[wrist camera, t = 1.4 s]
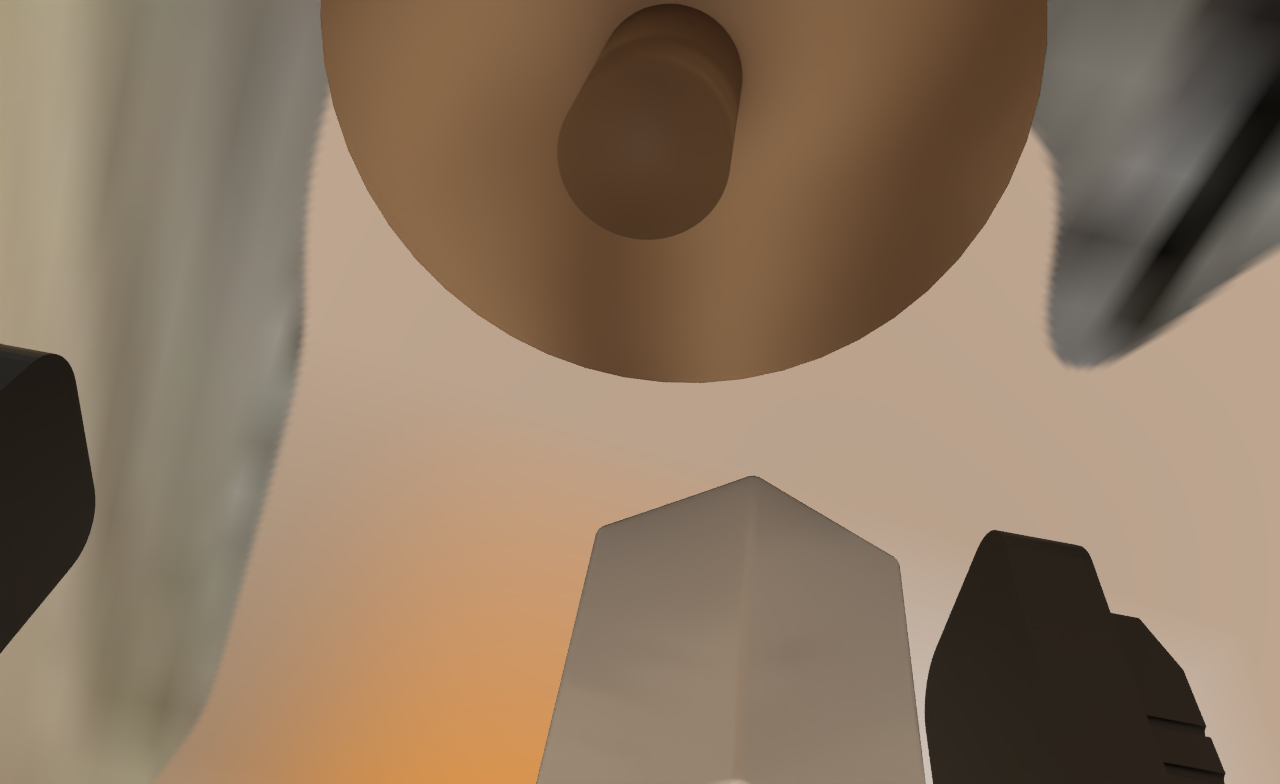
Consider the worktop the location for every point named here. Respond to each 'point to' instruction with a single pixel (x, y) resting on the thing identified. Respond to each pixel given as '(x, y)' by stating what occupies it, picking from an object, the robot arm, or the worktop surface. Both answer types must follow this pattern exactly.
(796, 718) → the jar
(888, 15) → the lid
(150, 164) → the worktop surface
